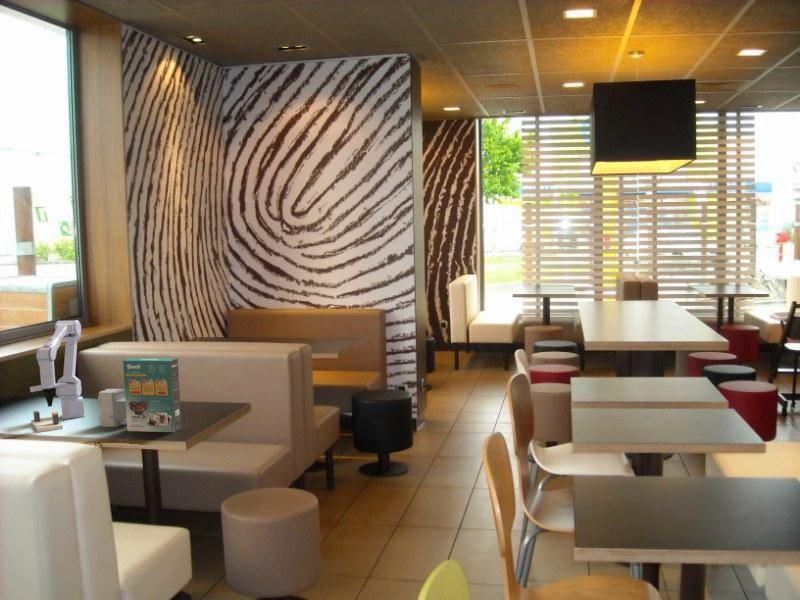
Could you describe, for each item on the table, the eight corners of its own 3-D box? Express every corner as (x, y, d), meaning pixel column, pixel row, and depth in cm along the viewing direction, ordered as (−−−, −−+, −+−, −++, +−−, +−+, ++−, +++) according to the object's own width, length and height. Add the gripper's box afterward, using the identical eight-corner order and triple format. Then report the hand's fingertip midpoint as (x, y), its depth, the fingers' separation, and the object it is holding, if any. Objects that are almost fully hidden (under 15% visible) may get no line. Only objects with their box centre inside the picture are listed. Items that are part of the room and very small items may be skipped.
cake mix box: (181, 428, 360) (177, 358, 357) (174, 432, 354) (170, 360, 351) (134, 427, 365) (130, 358, 362) (127, 430, 359) (122, 360, 356)
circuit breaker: (130, 427, 366) (128, 392, 364) (100, 426, 369) (97, 392, 367) (139, 422, 373) (136, 389, 372) (109, 422, 376) (107, 388, 374)
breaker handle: (57, 421, 372) (56, 411, 372) (59, 423, 369) (58, 413, 368) (52, 422, 371) (51, 412, 371) (54, 424, 368) (53, 413, 367)
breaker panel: (55, 419, 384) (54, 407, 383) (62, 428, 367) (61, 416, 366) (31, 423, 379) (30, 411, 378) (37, 432, 362) (36, 419, 361)
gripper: (30, 378, 360) (33, 410, 361) (67, 374, 367) (69, 405, 369) (28, 376, 366) (30, 407, 367) (64, 372, 373) (66, 402, 375)
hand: (49, 406), depth 368 cm, fingers closed
